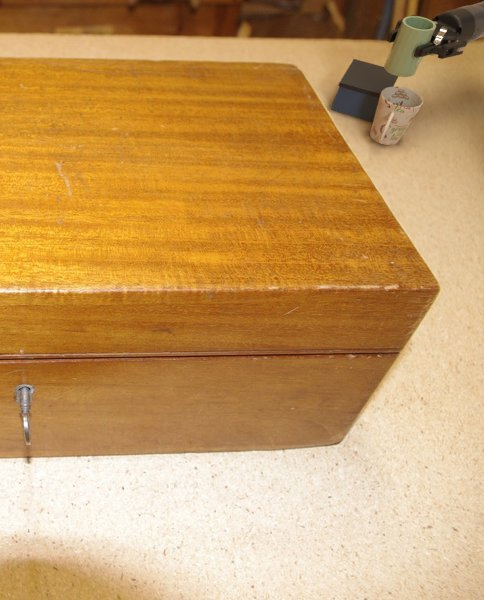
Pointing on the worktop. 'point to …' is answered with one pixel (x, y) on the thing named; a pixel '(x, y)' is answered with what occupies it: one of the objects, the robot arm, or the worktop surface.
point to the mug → (394, 114)
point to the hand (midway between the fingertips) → (403, 44)
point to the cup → (408, 45)
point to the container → (362, 89)
